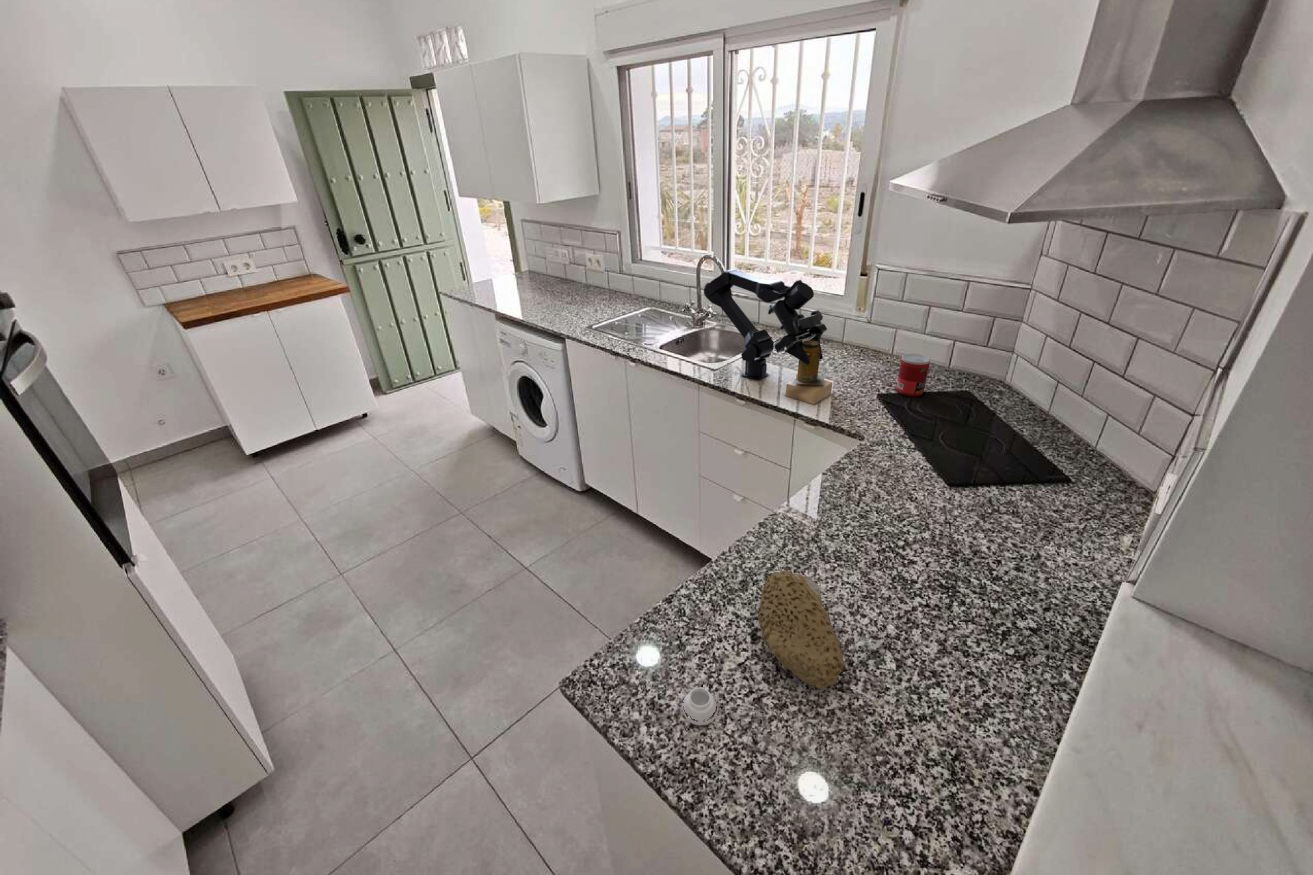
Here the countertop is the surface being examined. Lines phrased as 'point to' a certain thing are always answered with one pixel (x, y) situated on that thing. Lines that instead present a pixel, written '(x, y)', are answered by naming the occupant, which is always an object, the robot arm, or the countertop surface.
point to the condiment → (810, 365)
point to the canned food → (913, 374)
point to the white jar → (699, 706)
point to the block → (808, 391)
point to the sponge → (799, 629)
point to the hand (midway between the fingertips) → (815, 361)
